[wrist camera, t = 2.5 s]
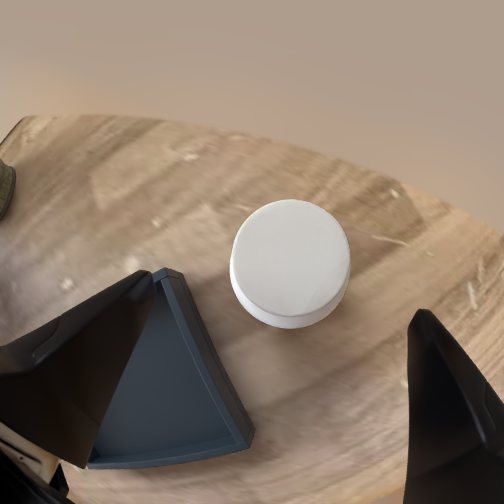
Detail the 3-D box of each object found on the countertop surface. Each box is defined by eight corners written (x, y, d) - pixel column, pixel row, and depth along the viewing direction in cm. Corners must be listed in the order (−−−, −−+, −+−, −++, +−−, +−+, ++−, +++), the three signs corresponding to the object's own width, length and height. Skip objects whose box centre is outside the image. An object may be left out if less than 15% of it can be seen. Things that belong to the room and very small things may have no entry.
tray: (256, 429, 16) (250, 448, 13) (105, 458, 16) (88, 469, 14) (182, 272, 19) (164, 266, 16) (53, 339, 19) (31, 340, 16)
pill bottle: (247, 318, 17) (205, 332, 9) (250, 239, 18) (215, 182, 10) (329, 320, 17) (367, 336, 8) (330, 240, 18) (363, 183, 9)
